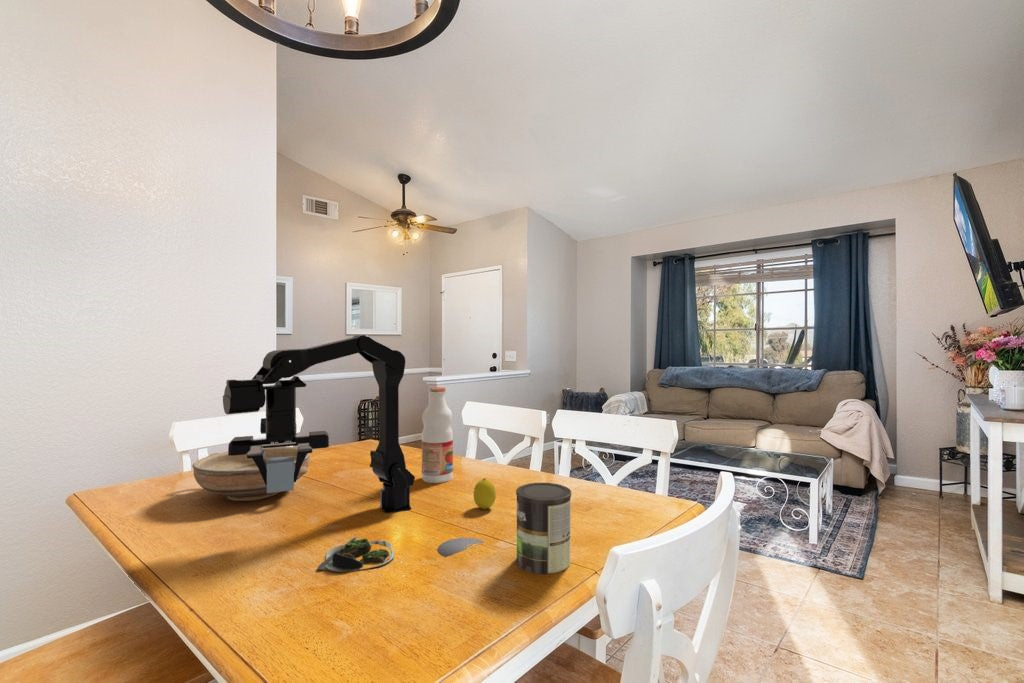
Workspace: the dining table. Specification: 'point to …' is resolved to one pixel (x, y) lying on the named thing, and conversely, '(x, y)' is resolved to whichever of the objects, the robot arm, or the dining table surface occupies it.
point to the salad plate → (345, 556)
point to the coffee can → (543, 527)
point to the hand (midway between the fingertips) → (281, 483)
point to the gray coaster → (456, 546)
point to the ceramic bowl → (240, 473)
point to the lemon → (484, 493)
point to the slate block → (280, 474)
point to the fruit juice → (437, 439)
